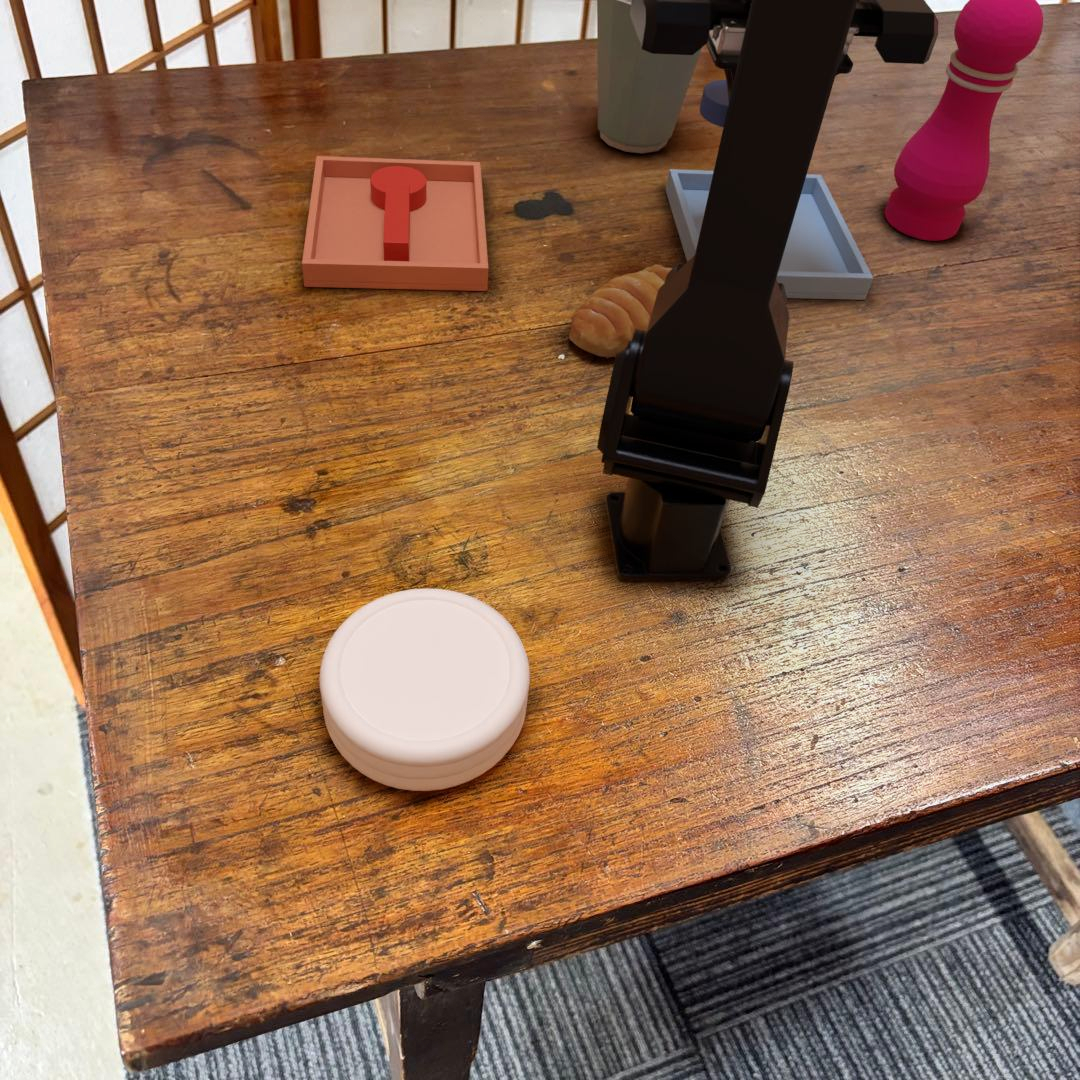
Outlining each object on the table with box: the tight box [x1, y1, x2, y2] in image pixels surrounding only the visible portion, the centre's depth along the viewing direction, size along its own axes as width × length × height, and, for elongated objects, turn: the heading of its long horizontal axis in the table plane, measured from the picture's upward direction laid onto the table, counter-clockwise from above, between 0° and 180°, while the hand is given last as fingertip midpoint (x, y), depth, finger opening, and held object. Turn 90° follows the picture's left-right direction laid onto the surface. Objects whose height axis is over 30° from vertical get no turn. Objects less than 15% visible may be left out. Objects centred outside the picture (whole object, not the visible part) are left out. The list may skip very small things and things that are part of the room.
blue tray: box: [665, 168, 874, 301], centre depth 81 cm, size 15×13×2 cm
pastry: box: [568, 263, 673, 359], centre depth 71 cm, size 9×7×4 cm
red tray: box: [301, 155, 489, 292], centre depth 78 cm, size 15×13×2 cm
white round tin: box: [318, 587, 531, 792], centre depth 50 cm, size 10×10×4 cm
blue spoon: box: [699, 79, 729, 128], centre depth 72 cm, size 12×4×2 cm, turn 5°
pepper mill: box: [884, 0, 1044, 242], centre depth 79 cm, size 7×7×20 cm
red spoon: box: [370, 166, 427, 261], centre depth 78 cm, size 12×4×2 cm, turn 4°
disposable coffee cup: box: [596, 0, 703, 154], centre depth 87 cm, size 11×11×15 cm
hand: (751, 145), depth 71 cm, fingers closed on blue spoon, 2 cm apart
